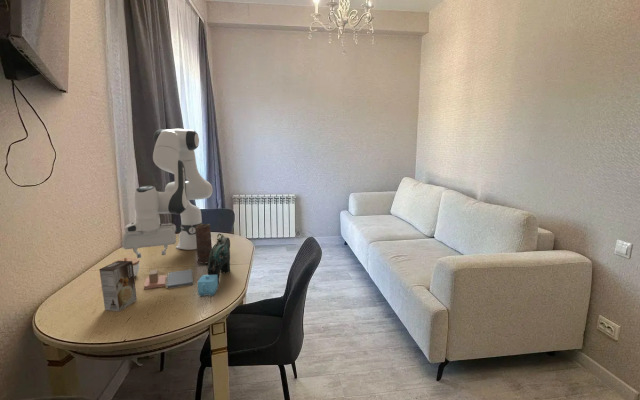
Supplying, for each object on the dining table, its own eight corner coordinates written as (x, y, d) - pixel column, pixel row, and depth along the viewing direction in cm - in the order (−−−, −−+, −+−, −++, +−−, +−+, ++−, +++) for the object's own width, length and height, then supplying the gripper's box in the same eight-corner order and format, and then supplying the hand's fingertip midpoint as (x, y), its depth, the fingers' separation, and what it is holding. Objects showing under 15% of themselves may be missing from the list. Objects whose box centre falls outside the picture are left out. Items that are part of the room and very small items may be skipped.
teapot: (212, 300, 128) (210, 282, 126) (196, 301, 127) (194, 283, 126) (219, 287, 139) (218, 270, 138) (204, 288, 139) (203, 271, 138)
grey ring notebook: (167, 275, 153) (167, 272, 153) (192, 271, 157) (192, 269, 157) (165, 288, 138) (165, 286, 138) (192, 284, 142) (192, 282, 142)
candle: (208, 265, 164) (205, 226, 161) (194, 265, 165) (191, 226, 162) (215, 260, 171) (213, 223, 168) (202, 259, 173) (200, 222, 169)
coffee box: (123, 298, 130) (118, 259, 127) (137, 300, 128) (133, 260, 126) (104, 310, 121) (98, 268, 118) (119, 311, 120) (114, 269, 117)
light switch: (146, 280, 147) (145, 269, 146) (166, 277, 150) (165, 266, 149) (144, 289, 138) (142, 277, 137) (165, 285, 141) (164, 274, 140)
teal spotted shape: (222, 269, 160) (219, 229, 156) (235, 269, 159) (233, 229, 156) (205, 286, 140) (202, 241, 137) (220, 287, 140) (217, 241, 136)
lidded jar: (131, 271, 157) (128, 252, 156) (146, 275, 153) (144, 256, 151) (108, 280, 148) (105, 260, 146) (123, 284, 143) (121, 263, 142)
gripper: (175, 221, 146) (178, 251, 148) (122, 225, 138) (126, 257, 141) (175, 224, 140) (177, 255, 142) (119, 228, 133) (123, 261, 135)
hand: (151, 256), depth 141 cm, fingers open, 8 cm apart
